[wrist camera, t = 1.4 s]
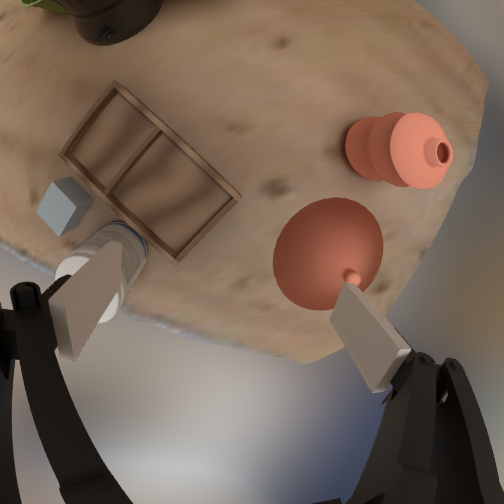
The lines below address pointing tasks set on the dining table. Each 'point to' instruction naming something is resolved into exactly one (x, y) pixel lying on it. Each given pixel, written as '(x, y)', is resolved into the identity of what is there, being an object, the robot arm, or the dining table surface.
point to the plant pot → (44, 5)
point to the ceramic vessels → (357, 210)
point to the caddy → (147, 173)
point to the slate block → (64, 205)
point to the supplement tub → (130, 266)
